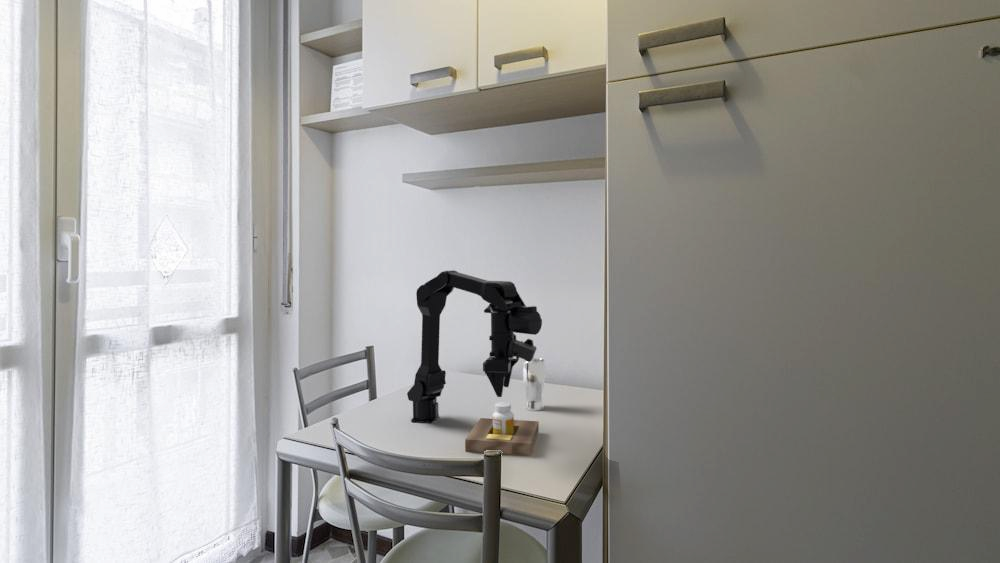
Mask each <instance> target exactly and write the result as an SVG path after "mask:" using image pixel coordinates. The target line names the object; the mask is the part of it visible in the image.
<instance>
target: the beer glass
mask: <svg viewBox="0 0 1000 563" xmlns="http://www.w3.org/2000/svg"><path fill="white" fill-rule="evenodd" d="M522 360H523V361H522V362H523V365H522V380H523V381H522V382H523V387H524V392H525V393H524V394H525V403H524V409H525V410H527V411H530V412H531V411H532V412H533V411H535V412H537V411H542V410H544V408H545V406H544V400H543V399H544V397H543V396H544V395H543V393H544V389H545V382H546V365H545V364H546V363H545V359H543V358H537V357H533V360H532V361H531V362H528V361H525V359H522Z"/></svg>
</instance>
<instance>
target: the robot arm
mask: <svg viewBox="0 0 1000 563" xmlns="http://www.w3.org/2000/svg"><path fill="white" fill-rule="evenodd" d="M454 288H455V289H459V290H462V291H464V292H468V293H471V294H473V295H477V296H479V297H480V298H481V299H482V300H483V301H485V302H486V303H488V304H489V305H487V307H486V308H485V309H484V310H483V313H484V314H485V313H486V314H490V336H488V337H489V338H488V339H489V341H490V344H491V345H490V346H491V350H490V352H489V356H488V358H486V359H485V361H484V362H483V363H482V371H483V372H484V374H485V375H486V376H487V379H488V380H489V382H490V384H491V386H492V389H493V391H494V393H495V395H496V397H497V398H502V396H503V392H504V388H509V387H510V382H511V376H512V374H513V373H512V372H513V368H514V366H515V365H516V364H517V363H518V362H519V361H520V359H522V360H524V359H525V361H528V362H531V361H532V360H533V358H535V353H536V351H537V346H536V345H534V340H533V339H530V338H527V339H526V340H525V341H523V340H518V339H517V335H516V333H517V334H525V335H535V336H536V335H538V334H539V333H540V331H541V329H542V325H543V319H542V317H541V314H540V313H539V311H538V309H537V306H535V305H532V306H527V305H526V304H525V303H524V300H523V299H522V297H521V296H520V294H519V292H518V291H517V287H516V285H515V283H514V282H512V281H509V280H508V281H507V280H487V279H482V278H480V277H476V276H473V275H469V274H466V273H461V272H458V271H456V270H455V269H454V270H443V271H442V272H440V273H439V274H438V275H437V276H435V277H433V278H431V279H430V280H428V281H426V282H425V283H424V284H421V285H420V286H418V288H417V289H416V293H415V294H416V305H417V308H418V310H419V311H420V313H421V317H422V318H421V319H422V321H421V353H420V358H421V359H420V365H419V367H418V369H417V371H416V373H415V376H414V377H415V378H414V384H412V386H411V388H410V389H409V390H408V392H406V395H407V400H408V401H409V402H412V418H411V419H410V422H412V423H428V424H429V423H431V424H432V423H434V422H435V421H436V420H437V418H439V415H440V414H439V402H437V401H438V400H437V398H438V397H441V395H442V392H443V389H444V388H445V385H446V384H447V383H446V370H442V367H441V366H440V364H439V355H440V352H439V351H440V329H441V328H440V327H441V326H440V323H441V321H440V320H441V319H440V318H441V314H442V313H443V310H444V309H445V307H446V302H447V297H448V296H449V295H450V294H451V293H452V292H453V291H454Z"/></svg>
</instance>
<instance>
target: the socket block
mask: <svg viewBox="0 0 1000 563" xmlns="http://www.w3.org/2000/svg"><path fill="white" fill-rule="evenodd" d="M539 422H540V421H539V420H525V419H524V420H523V419H522V420H521V419H520V420H519V419H514V436H513V435H498V434H493V418H487V417H486V418H485V417H480V419H478V421H477V423H476V424H475V425H474V427H472V429H471V431H470V432H469V433H468V435H467V436H466V438H465V441H464V448H465V449H464V450H465V452H468V451H471V452H470V453H481V454H483V452H484V451H486V450H501V451H502V452H503V454H502V455H513V456H525V457H530V456H531V455H532V453H533V452H532V451H533V449H534V446H535V443H536V442H537V438H538V435H539V429H540V427H539V425H540V424H539Z"/></svg>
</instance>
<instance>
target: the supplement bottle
mask: <svg viewBox="0 0 1000 563" xmlns="http://www.w3.org/2000/svg"><path fill="white" fill-rule="evenodd" d="M494 406H495V407H494V409H495V411H494V412H493V414H492V419H493V434H498V435H513V436H514V420H515V419H514V418H515V417H514V413H513V412H512V411H511V410H512V409H511V408H512V404H511V403H510V402H508V401H501V402H500V401H499V402H496V403H495V405H494Z"/></svg>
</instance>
